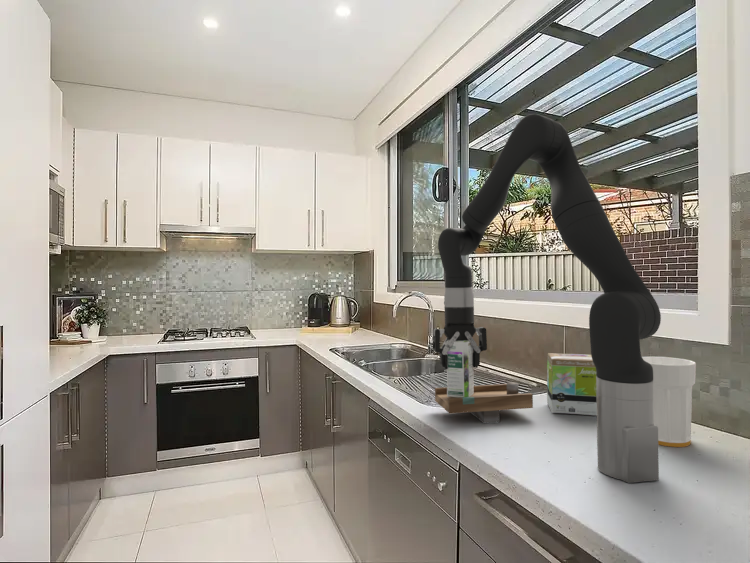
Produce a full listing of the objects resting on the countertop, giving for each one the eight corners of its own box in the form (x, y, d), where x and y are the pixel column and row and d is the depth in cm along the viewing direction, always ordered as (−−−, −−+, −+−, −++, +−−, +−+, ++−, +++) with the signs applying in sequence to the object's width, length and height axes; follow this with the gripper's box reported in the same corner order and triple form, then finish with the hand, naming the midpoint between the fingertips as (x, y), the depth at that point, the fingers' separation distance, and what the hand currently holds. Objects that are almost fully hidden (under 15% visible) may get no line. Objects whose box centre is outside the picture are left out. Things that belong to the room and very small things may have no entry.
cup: (627, 439, 101) (626, 360, 101) (647, 427, 108) (646, 354, 108) (687, 453, 92) (686, 367, 92) (704, 440, 99) (703, 360, 99)
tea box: (551, 414, 120) (551, 358, 120) (546, 404, 130) (546, 352, 129) (614, 417, 116) (613, 359, 116) (604, 406, 126) (603, 353, 126)
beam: (533, 419, 115) (532, 388, 115) (449, 425, 112) (449, 393, 112) (511, 406, 127) (510, 378, 127) (435, 411, 124) (434, 382, 124)
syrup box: (446, 397, 117) (445, 340, 117) (453, 392, 122) (452, 338, 122) (468, 399, 114) (466, 341, 114) (474, 394, 120) (473, 338, 120)
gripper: (436, 306, 114) (437, 372, 114) (490, 305, 116) (492, 369, 116) (428, 305, 121) (429, 366, 121) (479, 303, 123) (480, 364, 123)
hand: (460, 367), depth 118 cm, fingers closed on syrup box, 7 cm apart
